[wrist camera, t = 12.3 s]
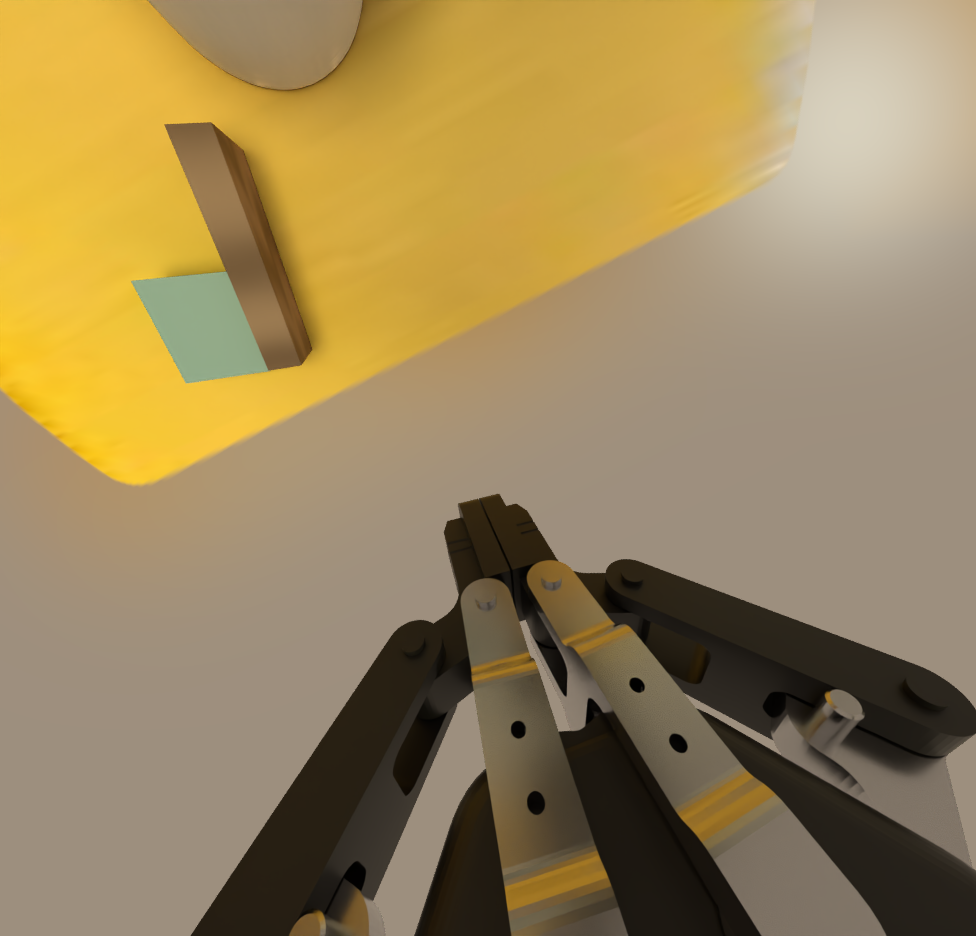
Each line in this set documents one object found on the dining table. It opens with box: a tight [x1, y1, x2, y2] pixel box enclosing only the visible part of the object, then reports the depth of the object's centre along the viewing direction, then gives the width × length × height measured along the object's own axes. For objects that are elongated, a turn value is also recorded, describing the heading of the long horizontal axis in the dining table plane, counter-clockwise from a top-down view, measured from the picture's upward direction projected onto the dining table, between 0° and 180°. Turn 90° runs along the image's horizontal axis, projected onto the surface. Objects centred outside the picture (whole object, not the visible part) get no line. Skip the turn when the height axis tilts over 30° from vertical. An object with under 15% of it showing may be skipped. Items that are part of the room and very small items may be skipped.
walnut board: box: [164, 122, 312, 371], centre depth 26 cm, size 14×2×6 cm, turn 6°
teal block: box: [131, 272, 271, 383], centre depth 28 cm, size 7×6×5 cm
